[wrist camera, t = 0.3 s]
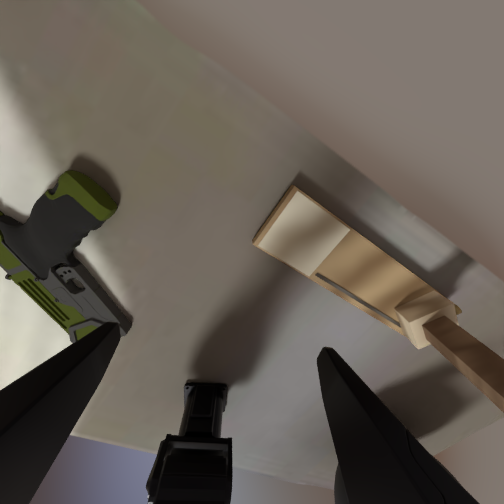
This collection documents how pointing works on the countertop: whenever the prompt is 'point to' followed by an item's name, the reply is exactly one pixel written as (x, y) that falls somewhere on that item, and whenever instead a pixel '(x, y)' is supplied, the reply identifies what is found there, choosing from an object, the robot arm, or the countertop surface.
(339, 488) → the coal bowl
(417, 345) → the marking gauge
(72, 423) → the robot arm
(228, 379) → the countertop surface
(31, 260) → the gun
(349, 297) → the oak plank
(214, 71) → the countertop surface
